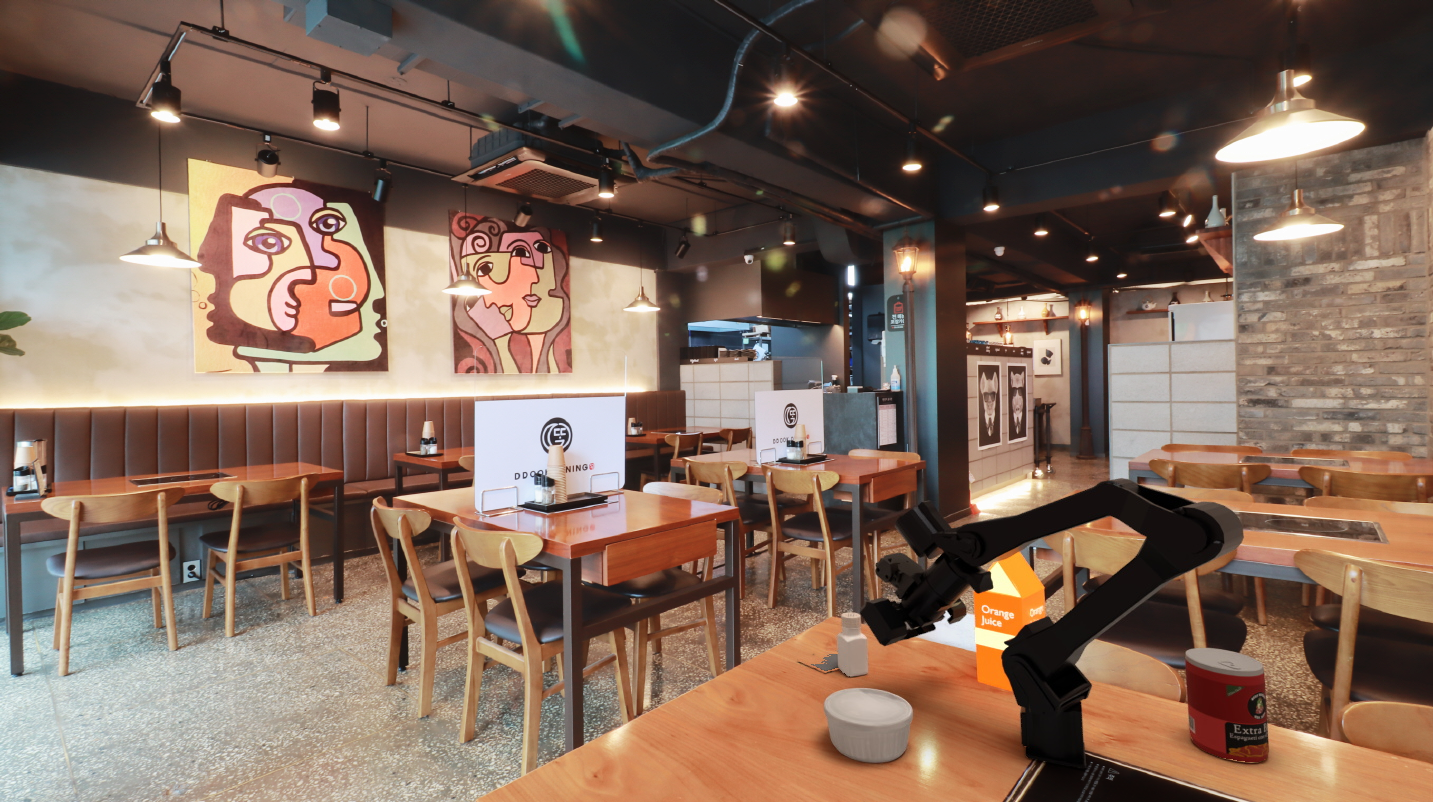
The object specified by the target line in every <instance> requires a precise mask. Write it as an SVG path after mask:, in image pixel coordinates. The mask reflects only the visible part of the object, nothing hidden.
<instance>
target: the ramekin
mask: <svg viewBox="0 0 1433 802" xmlns="http://www.w3.org/2000/svg"><path fill="white" fill-rule="evenodd" d="M823 712H824V715H825V717H826V722H827V725H828V726H827V727H828V731H829V737H830V740H831V743H832V745H833V746H834V747H835V749H836V750H837V751H839V753H840V754H842V755H843V756H845V757H847V758H849V759H850V760H855V761H858V762H863V763H871V764H872V763H873V764H877V763H878V764H881V763H887V762H892V761H895V760H896V759H898V758H899V757H901V756H902V755H903V754H904V752H905V751H906V750H907V748H908V742H909V737H910V730H911V724H912V721H913V718H914V711H913V707H912V705H911V704H910V703H909V702H908V701H907V700H906V699H905V698H903V697H902V696H899V695H897V694H894V693H892V692H889V691H887V690H881V689H876V688H869V687H867V688H866V687H853V688H852V687H851V688H845V689H841V690H837V691H835V692H833V693H831V694H829V695H828V696H827V697H826V698H825V700H824V701H823Z"/></svg>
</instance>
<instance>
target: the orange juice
mask: <svg viewBox="0 0 1433 802" xmlns="http://www.w3.org/2000/svg"><path fill="white" fill-rule="evenodd" d="M987 571H990V572H991V579H992V581H993V586H994V588H993V589H992V590H989V591H986V592H983V593H980V594H977V593H976V592H975V591H974V590H973V606H974V607H973V608H974V609H973V610H974V625H975V626H974V635H975V636H974V637H975V640H974V641H975V649H976V651H975V653H976V654H975V655H976V670H977V671H976V672H977V674H976V675H977V682H978V683H982V684H984V685H988V686H992V687H995V688H999V689H1001V690H1002V689H1003V690H1005V691H1006V690H1007V691H1009V692H1012V693H1013V690H1012V688H1011V685H1010V682H1009V679H1008V678H1007V676H1006V674H1005V673H1004V670H1003V667H1002V660H1001V655H1002V652H1003V651H1004V650H1005V648H1007V647H1008V646H1007V645H1005V644H1004V641H1007V640H1009V639H1011V638H1014V637H1015V636H1016V635H1017V634H1018V632H1019V631H1020V630H1021V629H1022V628H1023V627H1024V625H1026V624H1029V623H1031V622H1034V621H1036V620H1039V619H1041V618H1044V617H1046V601H1045V599H1046V598H1045V586H1044V585H1043V583H1042V581H1040V579H1039V578H1038V576H1037V574H1036V573H1035V571H1034V570H1033V568H1032V567H1031V565H1030V564H1029V563H1028V561H1026V558H1025V557H1024V556H1023V554H1022V553H1021V551H1020V552H1018V553H1016V554H1014V555H1013V556H1011V557H1009V558H1007V559H1005V560H1002V561H998V562H994V563H991V564H990V567H989V568H988V569H987Z"/></svg>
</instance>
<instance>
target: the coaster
mask: <svg viewBox="0 0 1433 802" xmlns="http://www.w3.org/2000/svg"><path fill="white" fill-rule="evenodd" d="M829 655H831V656H829ZM829 655H827V656H829V657H824V658H823V659H825V660H827V661H825V660H824V661H822V662H821V663H823V662H825V663H824V664H815V665H814V664H811V665H813V666H816V667H817V668H820V669H821V670H824V671H828V670H832V669H835V668H838V654H829ZM826 663H827V664H826Z"/></svg>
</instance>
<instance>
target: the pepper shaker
mask: <svg viewBox="0 0 1433 802" xmlns="http://www.w3.org/2000/svg"><path fill="white" fill-rule="evenodd" d="M840 617H841V629H842V631H841V632H839V633H838V634H837V635H836V644H837V645H836V648H837V650H836V651H837V652H838V668H839V669H840V670H841V671H842V672H841V671H840V670H839V669H838V670H839V671H840V672H841V673H843V674H844V673H845V674H846V675H845V674H844V675H845V676H847V677H849V676H850V677H849V678H851V677H857V676H864V675H868V673H869V658H868V656H869V653H868V638H867V636H866V635H865V634H864V633H862V630H861V628H862V615H861V614H860V613H857V612H844V613H841V615H840Z"/></svg>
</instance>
